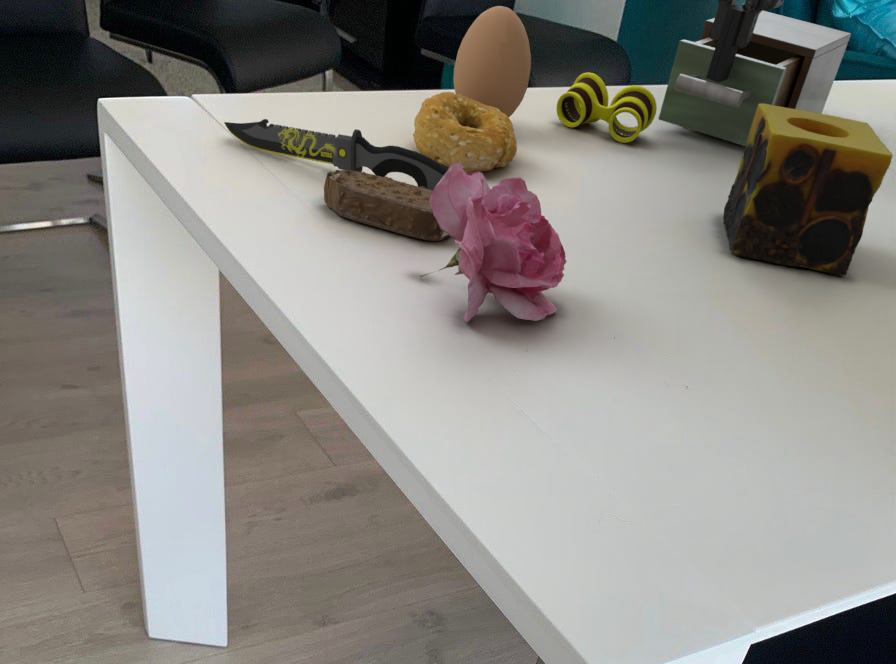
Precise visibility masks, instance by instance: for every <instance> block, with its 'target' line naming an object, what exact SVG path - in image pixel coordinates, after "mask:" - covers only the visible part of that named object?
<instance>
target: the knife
mask: <svg viewBox="0 0 896 664" xmlns="http://www.w3.org/2000/svg"><path fill="white" fill-rule="evenodd" d="M223 124H224V125H225V127H226V128H227V131H228V132H229V133H230V134H231V135H232V136H233V137H235V139H237V140H239V141H240V142H242V144H245V145H246V146H248V147H251V148H254V149H256V150H259V151H263V152H268V153H271V154H276V155H281V156H286V157H292V158H297V159H302V160H307V161H313V162H317V163H323V164H329V165H333V167H335V168H337V169H338V170H350V171H357V172H363V168H367V169H369V170H370V171H371V172H372V173H373V175H377V176H381V177H387V175H388V174H391V173H400V174H401V173H402V174H404V175H406V176H408V177H411V178H412V179H413V180H414V181H415V183H416V186H418V187H421V186H424V187H425V188H426V189H429V190H432V191H433V190H434V188H435V187H436V185H437V184H438V183H439V181H440V180H441V179H442V177H443V176H444V175H445V173H446V172H447V170H448V169H449V168H448V167H446V166H444V165H442V164H440V163H438V162H436V161H434V160H433V159H431V158H429V157H427V156H425V155H423V154H420V152H418V151H415V150H411V149H408V148H405V147H402V146H400V145H399V146H398V145H386V146H385V145H384V146H375V145H374V144H371V143H370V142H369V141H368V140H367V139H366V138H365V137H364V136H363V134H362V131H361V130H360V129H358V128H357V129H356V128H355V129H354V130H353V132H352V135H345V134H340V133H339V134H338V135H336V134H333V133H327V132H320V131H314V130H309V129H304V128H297V127H294V126H287V125H281V124H274V123H269V119H267V118H263V119H261V120H260V121H254V122H229V121H228V122H227V121H224V122H223ZM268 124H269V125H268Z"/></svg>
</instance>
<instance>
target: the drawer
mask: <svg viewBox="0 0 896 664" xmlns="http://www.w3.org/2000/svg"><path fill="white" fill-rule="evenodd" d="M716 44H717V41H716V40H713V39H711V38H710V37H709V38H706V39H703V40H697V41H693V40H692V41H691V40H687V39H681V40H679V43H678V46H677V50H676V53H675V57H674V61H673V63H672V64H673V65H672V68H671V72H670V75H669V79H668V83H667V86H666V90H665V93H664V97H663V101H662V105H661V108H660V112H659V115H658V120H659V121H662V122H665V123H668V124H672V125H675V126H678V127H682V128H684V129H688V130H691V131H693V132H698V133H701V134H705V135H708V136H711V137H714V138H717V139H720V140H723V141H726V142H731V143H734V144H737V145H740V146H743V147H745V146H746V143H747V139H748V136H749V132H750V129H751V125H752V122H753V119H754V116H755V113H756V110H757V107H758V104H769V105H774V106H780V107H785V108H787V107H788V104H789V101H790V99H791V96H792V93H793V90H794V87H795V84H796V81H797V79H798V76H799V73H800V70H801V67H802V64H803V61H804V58H805V57H804V56H800V55H796V54H793V53H789V52H785V51H782V50H778V49H774V48H771V47H767V46H763V45H760V44H756V43H752V42H749V44H748V45H747V46H746V47H744V48H740V47H738V50H737V53H736V56H735V59H734V62H733V65H732V68H731V71H730V74H729V77H728V79H727V80H724V81H722V82H720V83H719V82H716V81H713V80H710V79H707V78H706V76H707V73H708V70H709V67H710V63H711V60H712V57H713V54H714V51H715V47H716Z"/></svg>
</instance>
